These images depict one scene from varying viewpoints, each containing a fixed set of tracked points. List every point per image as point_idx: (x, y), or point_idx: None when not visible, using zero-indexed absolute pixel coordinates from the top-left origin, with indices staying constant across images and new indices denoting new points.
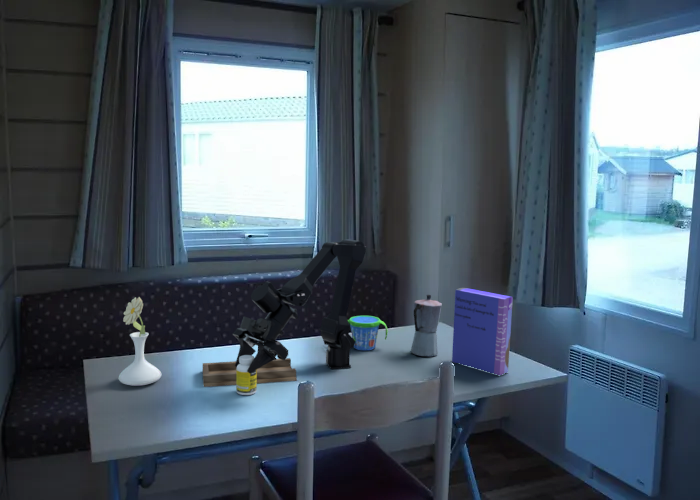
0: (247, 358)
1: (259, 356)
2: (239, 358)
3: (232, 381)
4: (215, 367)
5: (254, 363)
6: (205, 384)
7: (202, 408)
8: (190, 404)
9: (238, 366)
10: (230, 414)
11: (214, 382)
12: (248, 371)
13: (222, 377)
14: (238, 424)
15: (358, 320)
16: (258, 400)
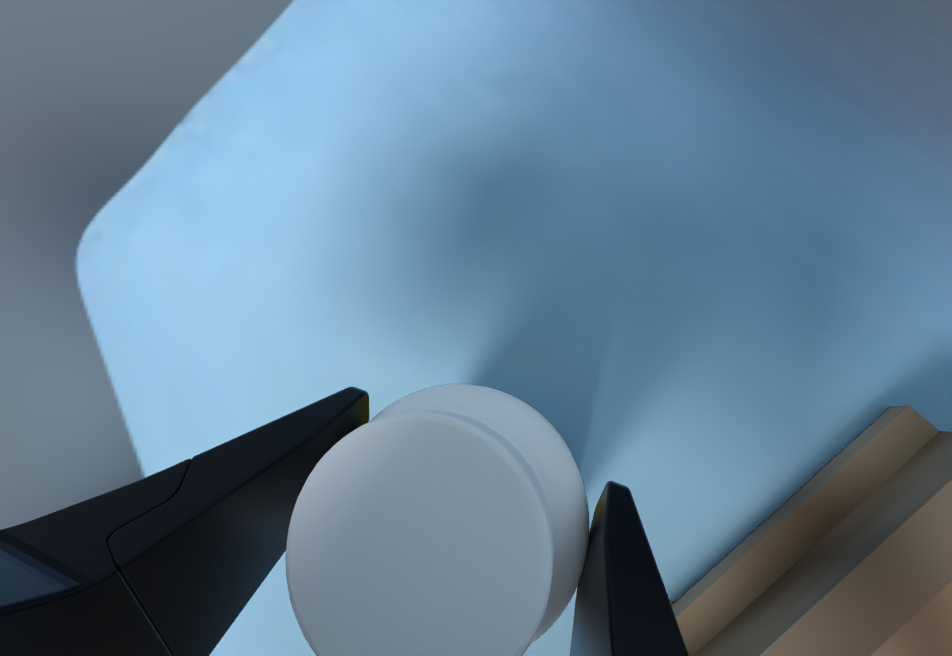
0: (359, 492)
1: (69, 509)
2: (496, 440)
3: (731, 599)
4: None
5: (235, 445)
6: (893, 416)
7: (577, 116)
8: (691, 116)
9: (512, 418)
10: (381, 146)
11: (859, 492)
12: (350, 392)
13: (835, 559)
14: (280, 85)
15: None
16: None
